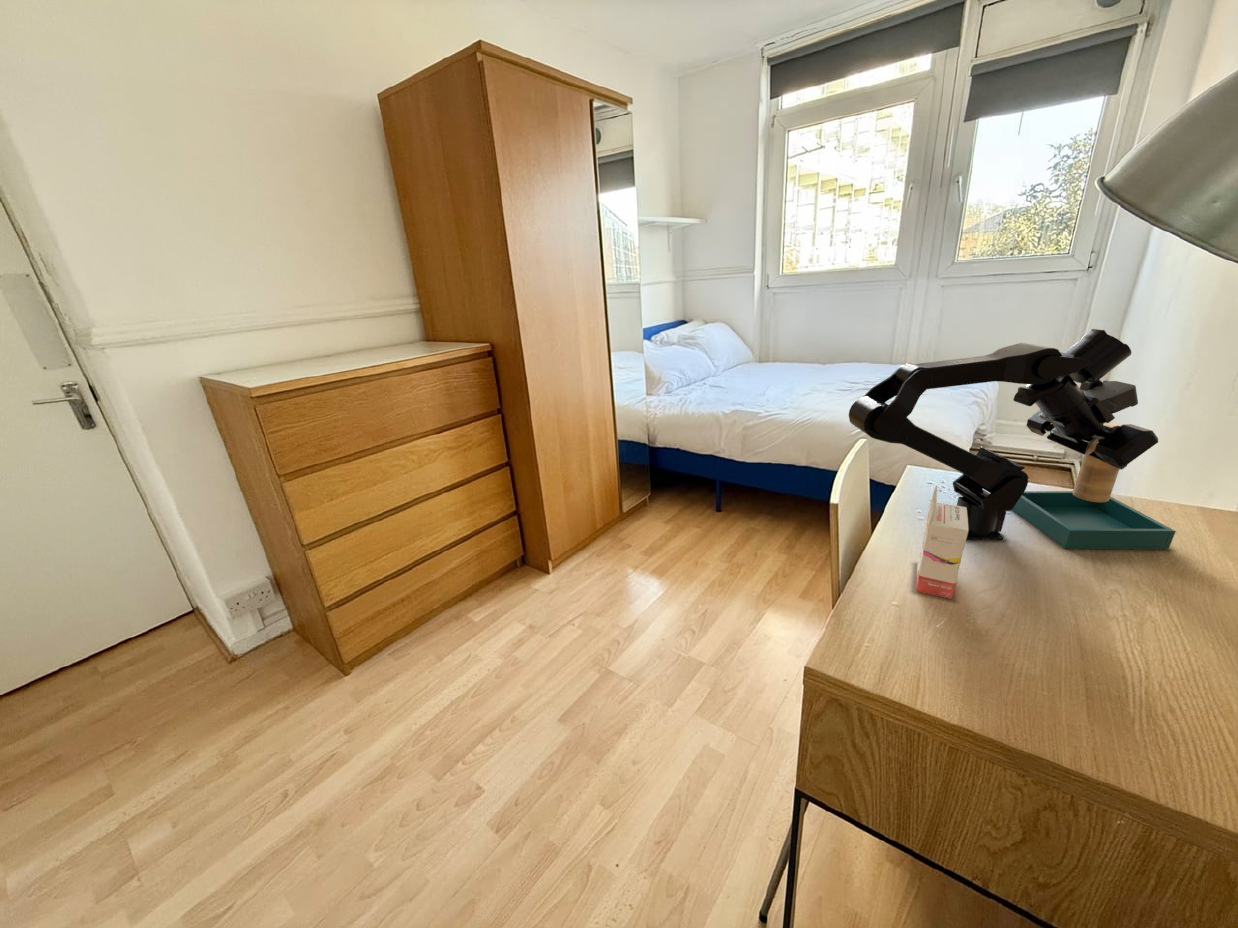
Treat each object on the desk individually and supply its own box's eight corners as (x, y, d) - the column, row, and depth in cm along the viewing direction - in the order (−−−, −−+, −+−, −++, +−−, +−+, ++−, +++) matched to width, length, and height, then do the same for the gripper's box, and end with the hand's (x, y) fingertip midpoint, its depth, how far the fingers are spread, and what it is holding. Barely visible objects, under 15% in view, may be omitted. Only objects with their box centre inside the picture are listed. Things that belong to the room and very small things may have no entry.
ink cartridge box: (954, 600, 73) (974, 512, 67) (915, 591, 75) (932, 505, 70) (952, 571, 79) (971, 488, 74) (917, 563, 82) (932, 482, 76)
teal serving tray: (1064, 548, 83) (1070, 530, 82) (1008, 507, 98) (1012, 491, 96) (1168, 549, 81) (1176, 531, 80) (1095, 507, 96) (1100, 490, 94)
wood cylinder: (1113, 504, 84) (1138, 432, 80) (1076, 499, 86) (1099, 429, 82) (1103, 493, 88) (1127, 424, 84) (1068, 489, 90) (1090, 421, 86)
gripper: (1168, 378, 70) (1217, 447, 74) (1060, 357, 88) (1104, 414, 91) (1095, 433, 73) (1146, 496, 77) (1005, 402, 91) (1049, 455, 94)
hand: (1109, 461), depth 85 cm, fingers closed on wood cylinder, 5 cm apart
